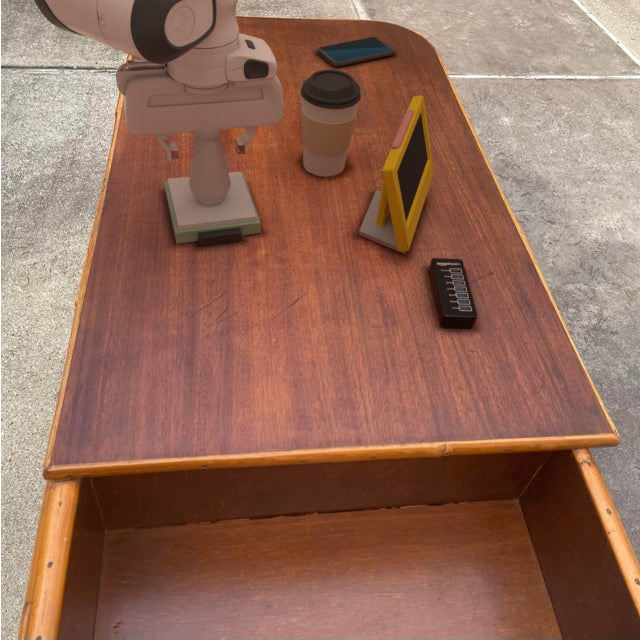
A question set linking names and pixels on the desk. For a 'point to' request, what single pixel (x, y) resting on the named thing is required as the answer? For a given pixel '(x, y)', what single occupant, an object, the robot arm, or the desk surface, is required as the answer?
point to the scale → (212, 213)
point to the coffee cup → (328, 120)
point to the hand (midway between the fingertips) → (207, 155)
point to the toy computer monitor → (402, 183)
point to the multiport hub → (452, 294)
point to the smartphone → (355, 51)
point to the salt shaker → (209, 167)
